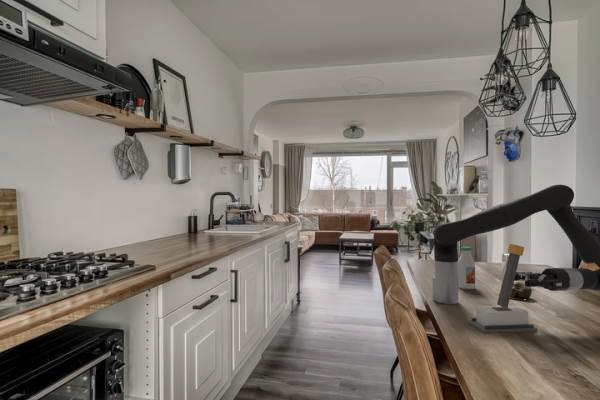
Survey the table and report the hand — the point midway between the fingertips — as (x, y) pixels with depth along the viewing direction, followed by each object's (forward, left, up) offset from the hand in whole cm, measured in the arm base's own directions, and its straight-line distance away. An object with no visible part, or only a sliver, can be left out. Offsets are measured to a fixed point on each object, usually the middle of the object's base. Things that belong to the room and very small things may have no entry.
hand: (516, 280), depth 115 cm
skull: (-17, +39, -16) cm, 45 cm away
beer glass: (-31, +62, -16) cm, 71 cm away
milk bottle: (-39, +36, -16) cm, 55 cm away
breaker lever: (-3, -5, -9) cm, 11 cm away
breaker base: (-3, -5, -15) cm, 16 cm away
